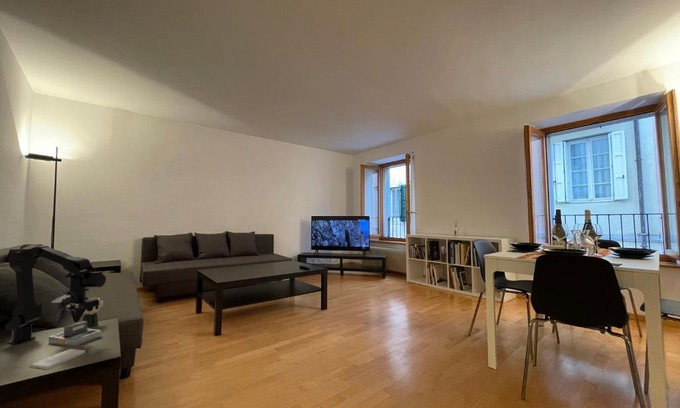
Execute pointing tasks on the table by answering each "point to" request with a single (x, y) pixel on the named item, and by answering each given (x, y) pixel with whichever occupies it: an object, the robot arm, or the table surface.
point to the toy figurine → (92, 314)
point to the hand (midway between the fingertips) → (76, 322)
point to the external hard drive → (57, 359)
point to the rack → (75, 338)
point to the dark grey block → (75, 329)
